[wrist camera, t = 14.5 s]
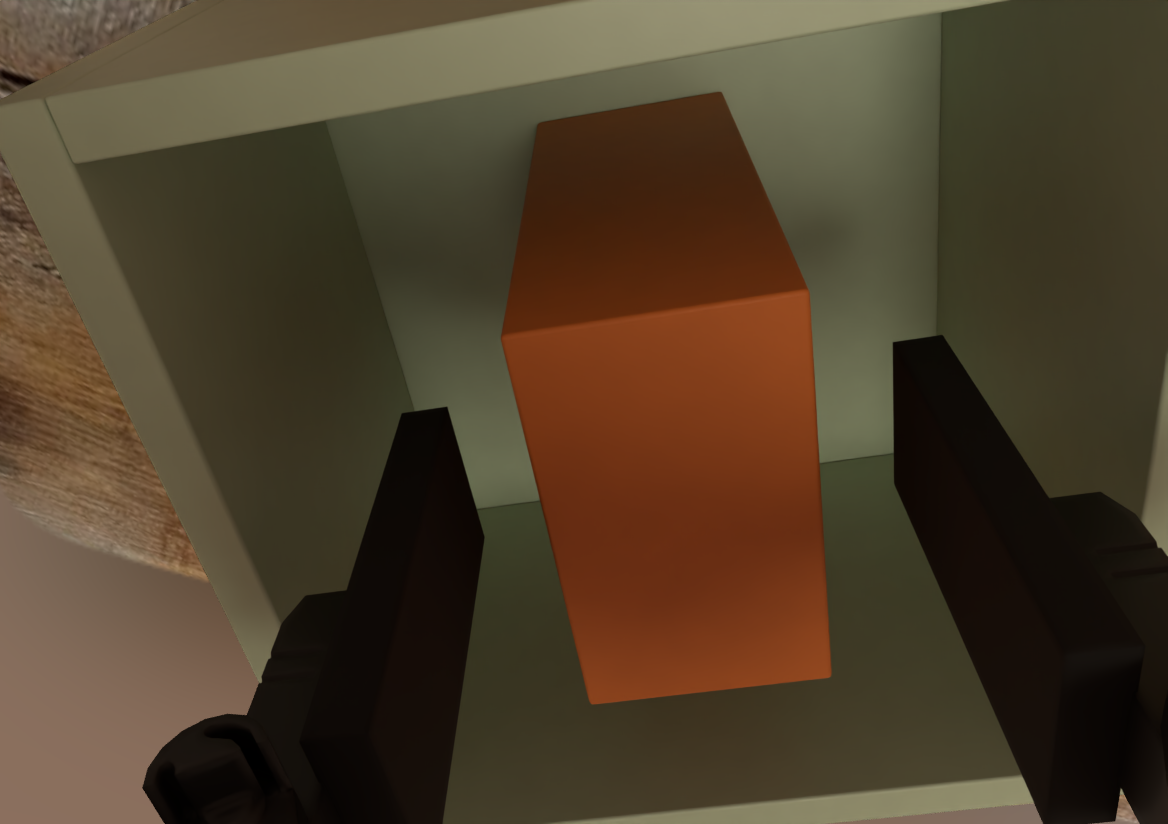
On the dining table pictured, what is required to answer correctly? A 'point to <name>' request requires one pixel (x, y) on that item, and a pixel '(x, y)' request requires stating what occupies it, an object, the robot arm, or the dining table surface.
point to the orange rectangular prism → (669, 404)
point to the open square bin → (478, 303)
